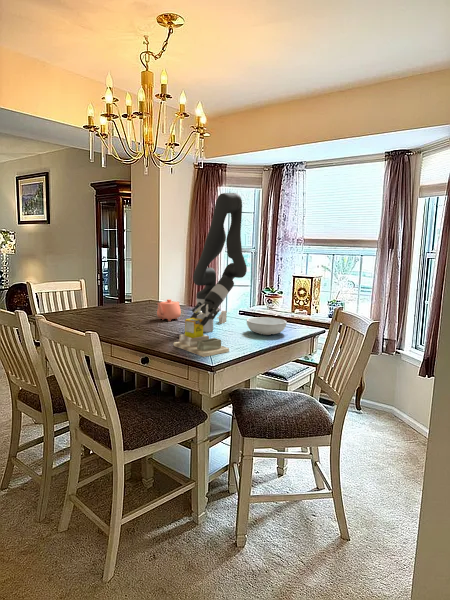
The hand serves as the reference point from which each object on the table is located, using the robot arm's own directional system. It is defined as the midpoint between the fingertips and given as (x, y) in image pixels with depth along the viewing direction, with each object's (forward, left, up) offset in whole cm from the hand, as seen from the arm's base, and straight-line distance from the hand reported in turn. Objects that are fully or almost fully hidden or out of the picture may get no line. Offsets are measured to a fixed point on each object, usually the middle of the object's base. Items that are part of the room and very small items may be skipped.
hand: (196, 322), depth 187 cm
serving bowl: (0, +46, -11) cm, 47 cm away
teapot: (-58, +23, -11) cm, 63 cm away
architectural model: (-33, +44, -11) cm, 56 cm away
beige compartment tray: (+5, -1, -11) cm, 12 cm away
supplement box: (0, -1, -9) cm, 9 cm away
